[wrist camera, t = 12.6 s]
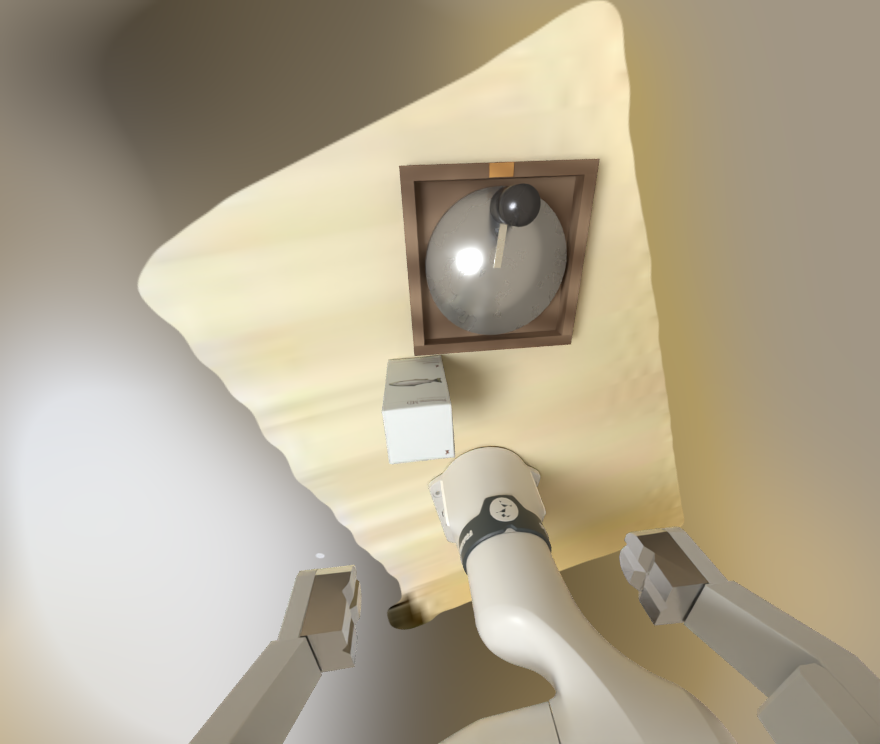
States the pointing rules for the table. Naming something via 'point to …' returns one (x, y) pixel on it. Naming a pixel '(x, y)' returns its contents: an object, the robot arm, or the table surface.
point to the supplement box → (417, 411)
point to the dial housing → (445, 184)
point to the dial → (496, 259)
